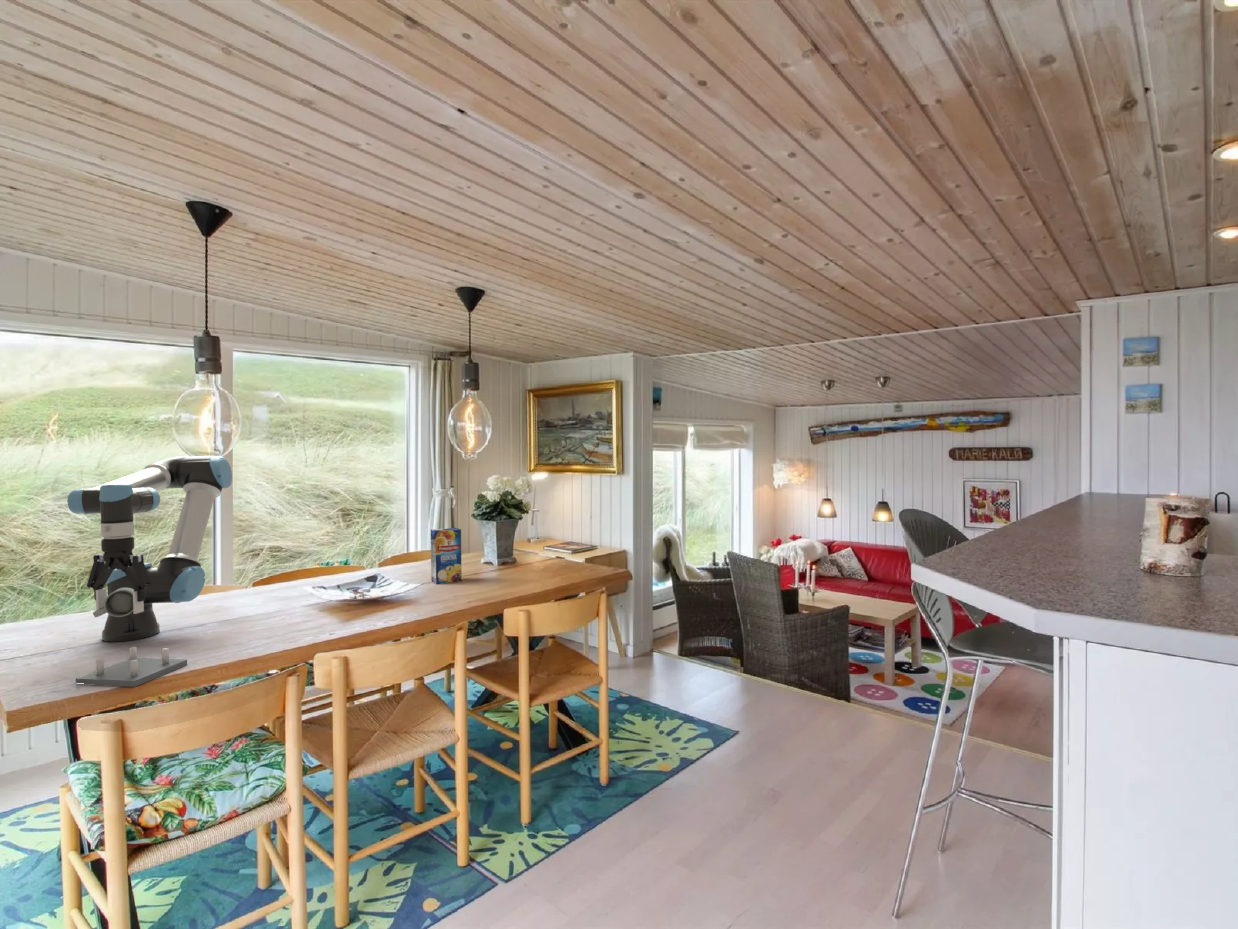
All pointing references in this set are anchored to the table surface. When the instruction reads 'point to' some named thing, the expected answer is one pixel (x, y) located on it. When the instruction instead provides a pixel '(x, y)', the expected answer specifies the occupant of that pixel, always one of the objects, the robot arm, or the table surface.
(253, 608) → the table surface
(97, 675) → the pin plate
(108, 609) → the ceramic mug
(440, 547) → the juice carton
